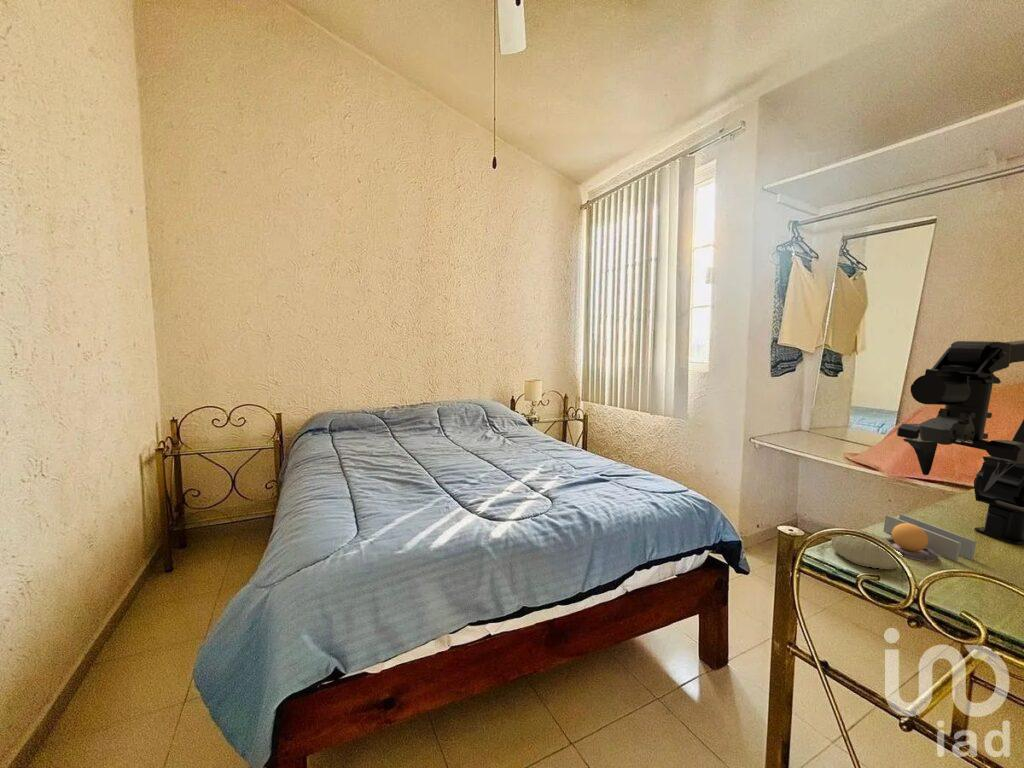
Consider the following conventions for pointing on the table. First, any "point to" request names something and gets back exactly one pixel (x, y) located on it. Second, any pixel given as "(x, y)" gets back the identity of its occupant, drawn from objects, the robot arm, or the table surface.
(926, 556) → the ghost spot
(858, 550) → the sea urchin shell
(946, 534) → the acrylic walls
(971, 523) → the table surface
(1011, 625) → the table surface
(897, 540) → the ball
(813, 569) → the table surface
